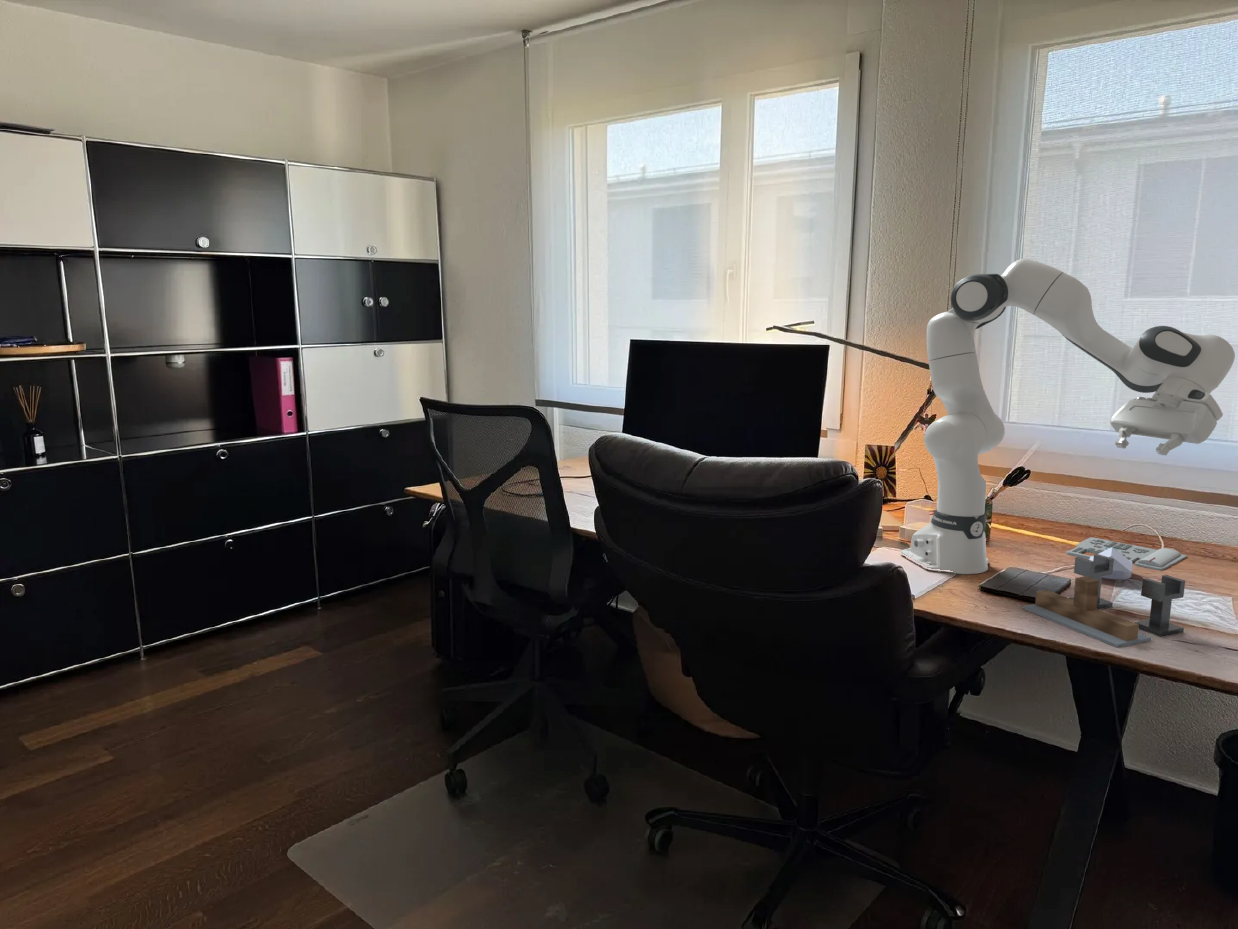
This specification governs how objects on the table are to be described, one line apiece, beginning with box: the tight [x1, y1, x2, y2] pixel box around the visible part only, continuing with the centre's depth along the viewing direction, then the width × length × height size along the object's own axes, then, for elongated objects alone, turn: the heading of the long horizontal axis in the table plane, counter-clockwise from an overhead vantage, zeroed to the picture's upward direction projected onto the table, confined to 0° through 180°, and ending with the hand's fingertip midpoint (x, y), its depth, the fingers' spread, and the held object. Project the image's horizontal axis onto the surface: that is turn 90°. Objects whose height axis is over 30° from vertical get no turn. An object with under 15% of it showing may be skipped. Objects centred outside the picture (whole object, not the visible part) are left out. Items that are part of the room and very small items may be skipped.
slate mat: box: [1022, 603, 1152, 648], centre depth 174 cm, size 23×9×1 cm, turn 20°
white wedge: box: [1088, 547, 1134, 580], centre depth 204 cm, size 9×7×13 cm
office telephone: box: [1065, 536, 1188, 571], centre depth 220 cm, size 23×3×20 cm
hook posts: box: [1068, 553, 1186, 638], centre depth 177 cm, size 22×7×10 cm, turn 20°
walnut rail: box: [1034, 576, 1139, 641], centre depth 173 cm, size 22×3×9 cm, turn 20°
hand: (1139, 449), depth 178 cm, fingers open, 8 cm apart
